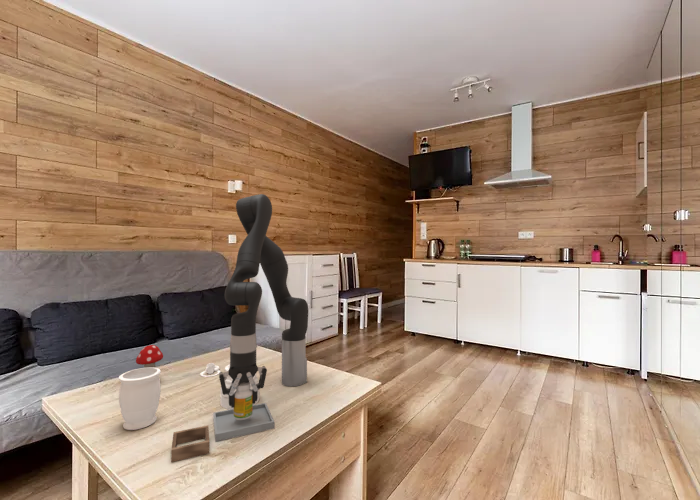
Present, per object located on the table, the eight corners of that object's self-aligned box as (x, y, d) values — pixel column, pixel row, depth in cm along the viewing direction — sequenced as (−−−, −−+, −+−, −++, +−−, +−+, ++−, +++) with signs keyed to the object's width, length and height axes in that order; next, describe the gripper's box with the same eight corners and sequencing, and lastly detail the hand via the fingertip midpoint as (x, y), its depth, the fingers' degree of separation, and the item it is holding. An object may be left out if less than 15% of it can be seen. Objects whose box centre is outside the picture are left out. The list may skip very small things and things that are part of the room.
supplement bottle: (246, 421, 96) (246, 388, 96) (229, 419, 97) (230, 386, 97) (255, 412, 101) (255, 380, 101) (239, 410, 102) (239, 379, 102)
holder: (208, 435, 92) (208, 425, 92) (209, 453, 85) (209, 441, 85) (173, 443, 89) (173, 432, 89) (171, 462, 81) (171, 450, 81)
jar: (129, 436, 92) (129, 383, 92) (112, 425, 97) (112, 375, 97) (167, 420, 101) (167, 371, 101) (149, 411, 106) (149, 364, 106)
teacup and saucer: (215, 368, 145) (215, 359, 145) (226, 372, 140) (226, 363, 140) (196, 374, 138) (196, 365, 138) (206, 379, 133) (206, 369, 133)
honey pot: (229, 392, 120) (229, 343, 120) (264, 392, 120) (264, 343, 120) (213, 409, 108) (213, 354, 108) (252, 410, 107) (252, 355, 107)
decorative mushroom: (152, 390, 121) (152, 349, 121) (129, 389, 122) (129, 349, 122) (168, 379, 131) (168, 342, 131) (147, 379, 132) (147, 341, 132)
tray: (266, 408, 108) (266, 402, 108) (274, 428, 96) (274, 421, 96) (213, 419, 101) (213, 412, 101) (215, 441, 90) (215, 434, 90)
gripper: (265, 342, 105) (265, 395, 105) (217, 347, 99) (216, 403, 99) (270, 349, 98) (269, 405, 99) (218, 355, 92) (218, 415, 93)
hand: (243, 404), depth 99 cm, fingers closed on supplement bottle, 5 cm apart
